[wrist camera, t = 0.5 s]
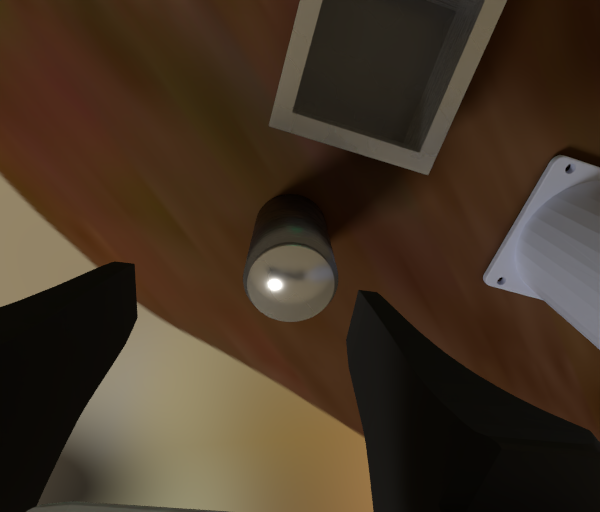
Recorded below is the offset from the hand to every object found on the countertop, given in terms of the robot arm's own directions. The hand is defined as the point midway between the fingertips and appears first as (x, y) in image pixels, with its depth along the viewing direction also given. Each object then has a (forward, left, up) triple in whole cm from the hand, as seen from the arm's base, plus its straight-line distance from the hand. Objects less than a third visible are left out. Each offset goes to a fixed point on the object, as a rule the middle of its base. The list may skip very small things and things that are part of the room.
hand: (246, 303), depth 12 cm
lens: (-2, +1, -9) cm, 10 cm away
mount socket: (-3, -8, -9) cm, 13 cm away
